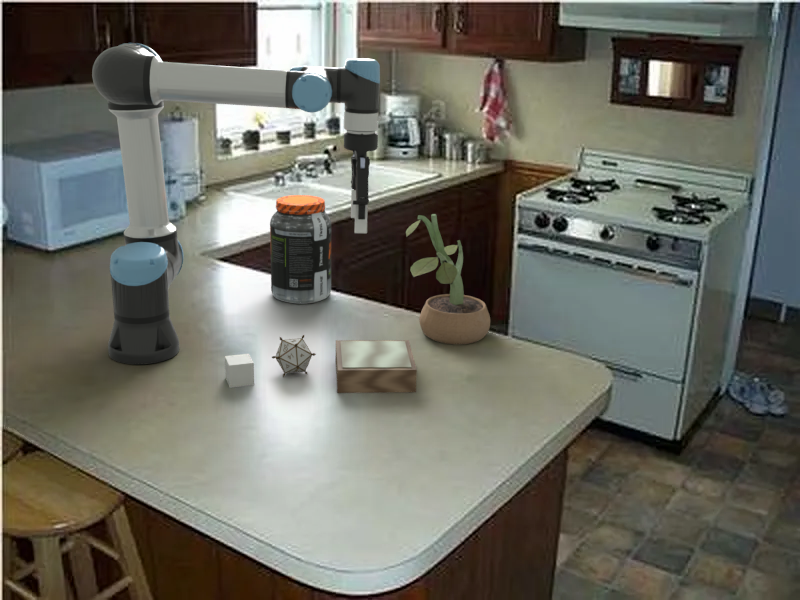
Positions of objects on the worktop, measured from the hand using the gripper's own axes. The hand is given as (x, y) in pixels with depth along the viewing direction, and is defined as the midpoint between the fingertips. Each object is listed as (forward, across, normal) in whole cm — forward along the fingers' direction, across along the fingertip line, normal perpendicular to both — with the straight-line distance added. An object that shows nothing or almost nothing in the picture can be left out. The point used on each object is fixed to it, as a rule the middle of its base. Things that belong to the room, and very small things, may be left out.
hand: (358, 225), depth 205 cm
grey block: (+27, -26, +26) cm, 46 cm away
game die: (+27, -22, +15) cm, 38 cm away
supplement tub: (+27, +28, +13) cm, 40 cm away
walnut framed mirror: (+26, -25, -2) cm, 36 cm away
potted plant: (+27, -1, -21) cm, 34 cm away
